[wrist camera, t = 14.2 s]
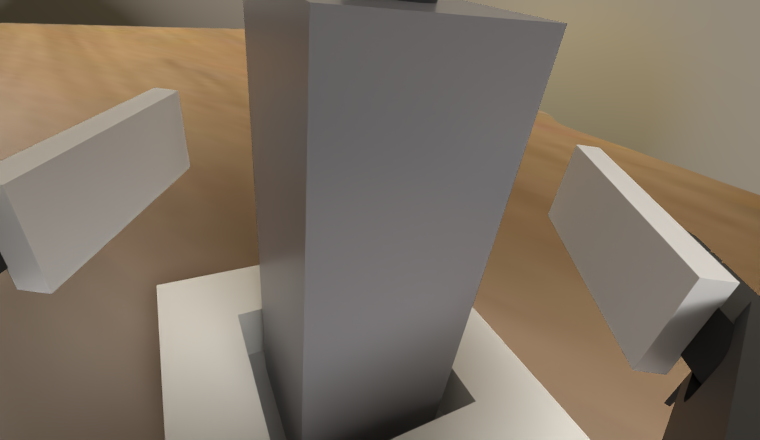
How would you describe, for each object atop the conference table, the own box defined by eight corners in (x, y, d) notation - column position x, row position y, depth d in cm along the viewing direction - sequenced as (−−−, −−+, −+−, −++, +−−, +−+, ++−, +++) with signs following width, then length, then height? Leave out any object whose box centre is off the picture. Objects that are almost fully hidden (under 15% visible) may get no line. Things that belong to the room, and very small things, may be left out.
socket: (400, 277, 23) (410, 225, 21) (561, 488, 14) (602, 434, 12) (169, 335, 18) (153, 274, 16) (199, 719, 9) (173, 688, 7)
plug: (373, 333, 19) (450, -151, 10) (430, 431, 15) (642, -201, 6) (265, 366, 17) (229, -218, 7) (300, 489, 13) (316, -358, 4)
